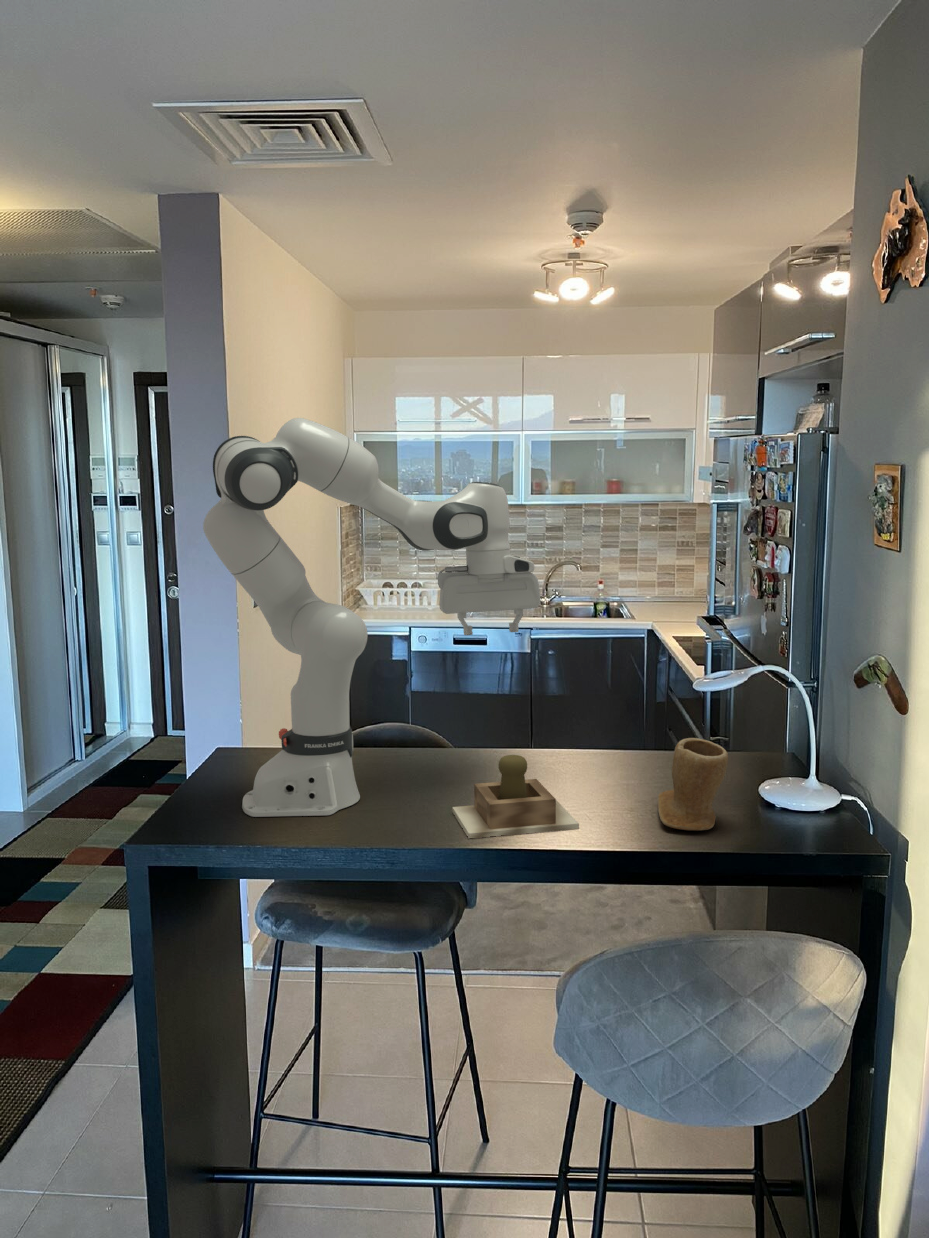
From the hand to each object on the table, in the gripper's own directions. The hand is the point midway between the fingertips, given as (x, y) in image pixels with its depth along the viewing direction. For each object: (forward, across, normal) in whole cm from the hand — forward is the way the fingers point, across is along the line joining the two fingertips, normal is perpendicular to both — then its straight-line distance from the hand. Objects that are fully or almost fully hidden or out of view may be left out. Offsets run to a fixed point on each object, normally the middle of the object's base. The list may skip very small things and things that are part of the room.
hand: (491, 633), depth 193 cm
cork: (+31, -2, -22) cm, 38 cm away
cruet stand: (+32, -2, -22) cm, 38 cm away
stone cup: (+33, +29, -30) cm, 53 cm away
